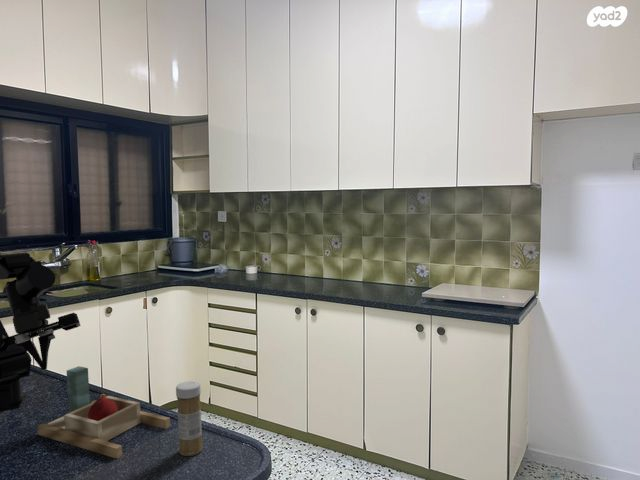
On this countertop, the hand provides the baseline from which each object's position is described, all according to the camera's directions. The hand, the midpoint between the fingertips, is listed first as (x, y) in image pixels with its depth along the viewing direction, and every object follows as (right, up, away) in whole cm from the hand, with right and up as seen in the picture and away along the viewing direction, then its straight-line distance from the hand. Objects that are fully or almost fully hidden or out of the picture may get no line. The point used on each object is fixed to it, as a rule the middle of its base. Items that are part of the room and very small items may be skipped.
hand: (44, 369), depth 105 cm
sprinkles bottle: (+36, -13, -13) cm, 41 cm away
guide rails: (+15, -12, -4) cm, 20 cm away
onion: (+15, -12, -4) cm, 20 cm away
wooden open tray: (+12, -12, -2) cm, 17 cm away
